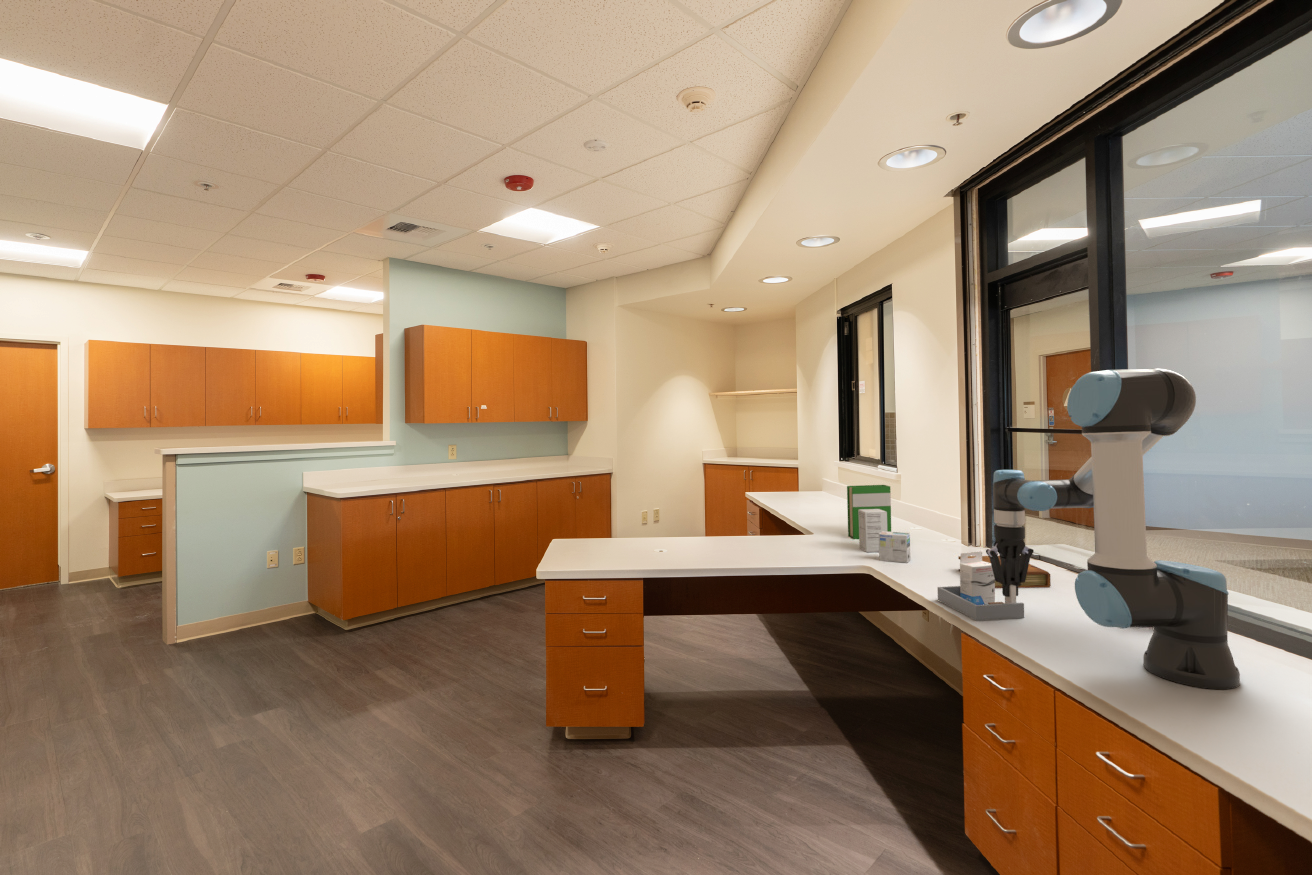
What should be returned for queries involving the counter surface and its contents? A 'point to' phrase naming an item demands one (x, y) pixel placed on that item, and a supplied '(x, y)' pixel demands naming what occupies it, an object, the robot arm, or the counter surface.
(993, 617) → the tray
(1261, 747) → the counter surface
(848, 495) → the hardback book
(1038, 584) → the diary
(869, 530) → the supplement box
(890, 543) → the light bulb box
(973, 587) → the ink box
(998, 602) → the walnut block
